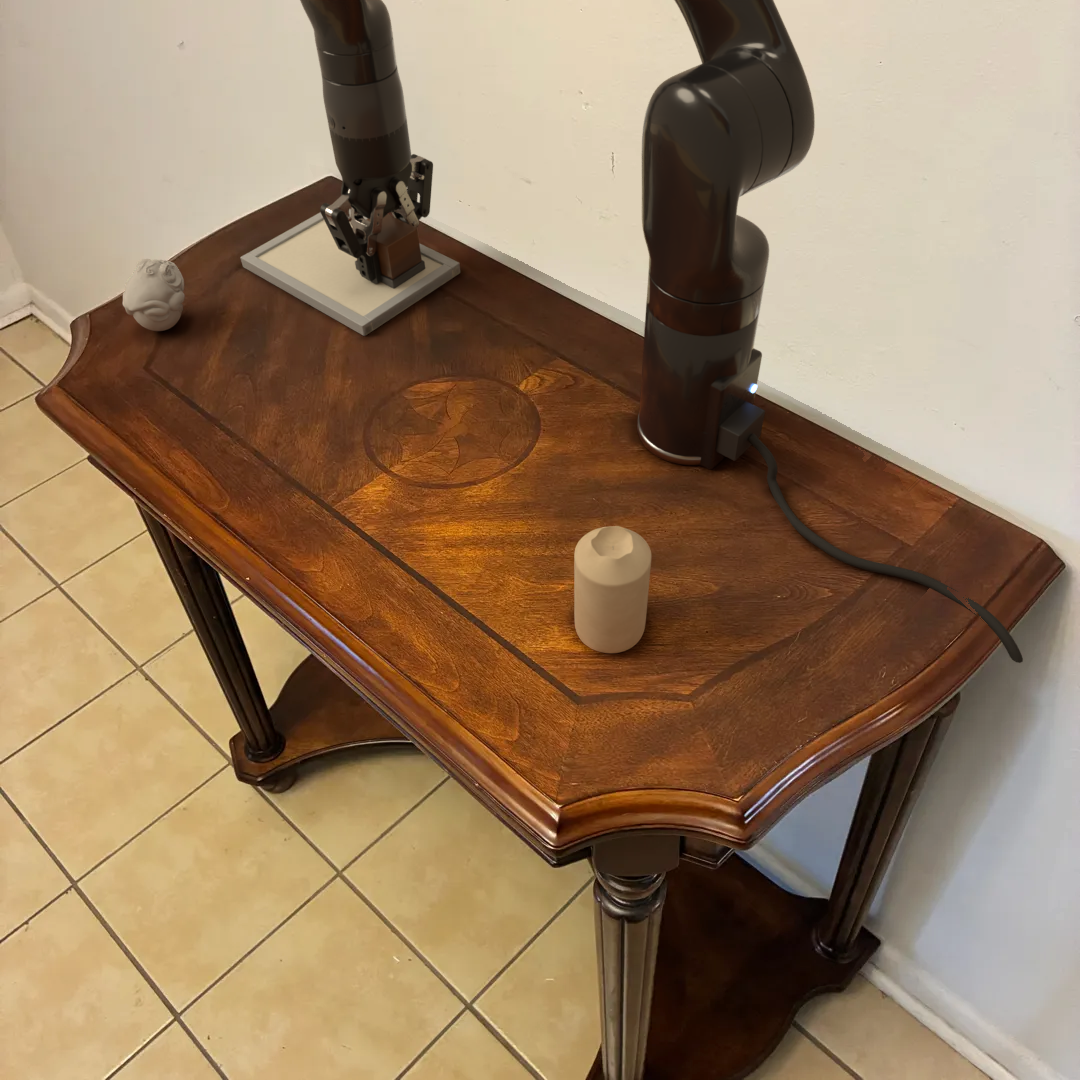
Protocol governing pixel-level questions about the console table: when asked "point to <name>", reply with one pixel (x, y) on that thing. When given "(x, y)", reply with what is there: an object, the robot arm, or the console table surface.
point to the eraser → (397, 252)
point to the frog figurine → (155, 294)
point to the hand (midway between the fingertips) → (391, 268)
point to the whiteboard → (341, 276)
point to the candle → (611, 588)
